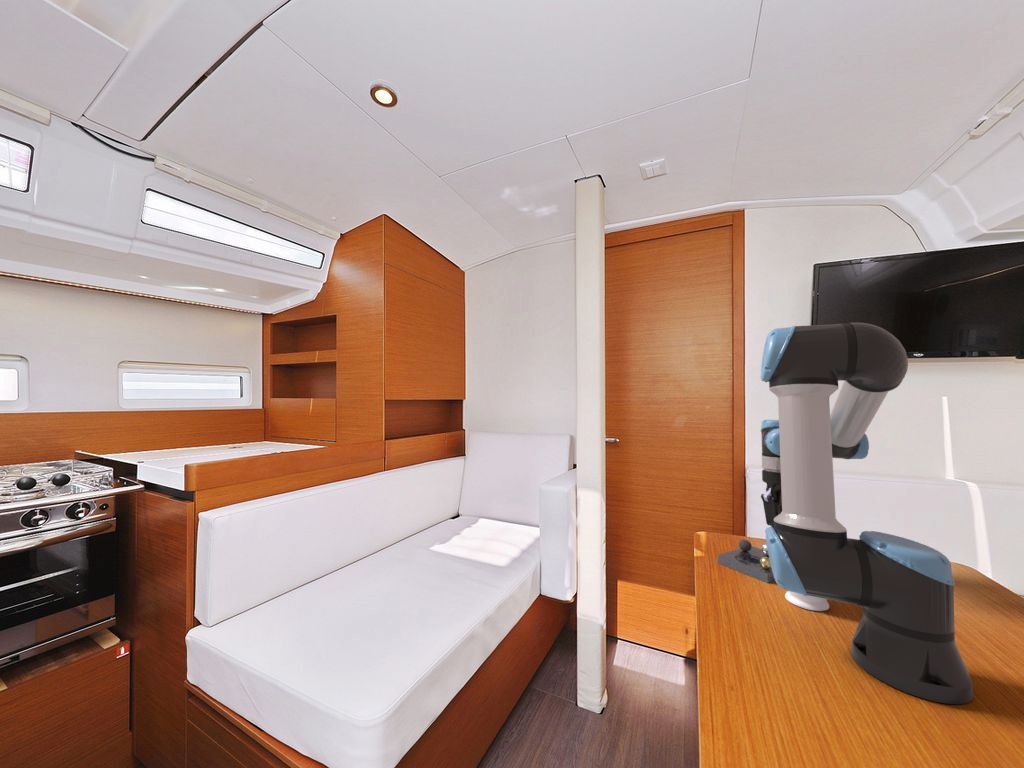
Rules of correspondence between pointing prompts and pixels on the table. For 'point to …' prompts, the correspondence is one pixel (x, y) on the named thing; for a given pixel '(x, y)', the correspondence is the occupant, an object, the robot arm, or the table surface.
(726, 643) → the table surface
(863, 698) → the table surface
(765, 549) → the ball
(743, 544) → the black ball
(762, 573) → the plate
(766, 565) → the brass ball
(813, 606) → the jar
